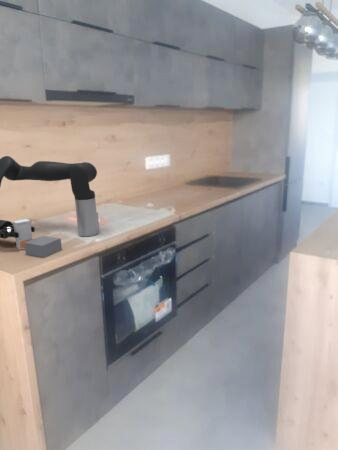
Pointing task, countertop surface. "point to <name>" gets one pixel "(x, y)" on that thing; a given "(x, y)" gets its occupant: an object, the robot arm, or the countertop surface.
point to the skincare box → (22, 232)
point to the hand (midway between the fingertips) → (26, 232)
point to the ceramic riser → (43, 246)
